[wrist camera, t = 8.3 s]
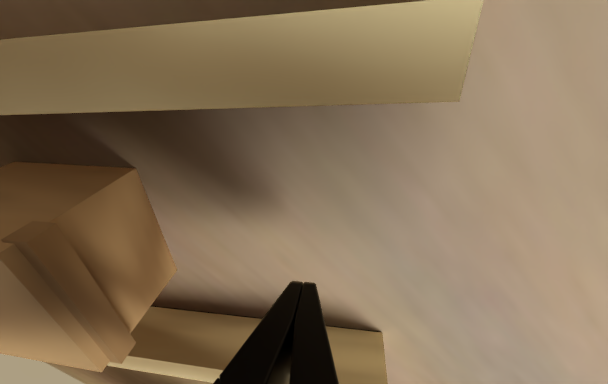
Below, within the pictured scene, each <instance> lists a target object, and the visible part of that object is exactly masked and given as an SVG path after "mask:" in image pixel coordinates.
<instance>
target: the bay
mask: <svg viewBox="0 0 608 384" xmlns="http://www.w3.org/2000/svg"><path fill="white" fill-rule="evenodd" d="M482 4H483V0H427V1H416V2H405V3H394V4H383V5H372V6H361V7H350V8H339V9H329V10H318V11H307V12H296V13H285V14H274V15H263V16H252V17H241V18H230V19H219V20H209V21H198V22H187V23H176V24H165V25H154V26H143V27H132V28H121V29H110V30H99V31H88V32H78V33H67V34H56V35H45V36H34V37H23V38H12V39H1V40H0V115H23V114H57V113H90V112H124V111H158V110H192V109H225V108H259V107H293V106H327V105H360V104H394V103H428V102H459V100H460V96H461V92H462V88H463V84H464V79H465V75H466V71H467V67H468V63H469V59H470V54H471V50H472V46H473V42H474V38H475V34H476V29H477V25H478V21H479V17H480V13H481V8H482ZM261 320H262V319H257V318H248V317H239V316H231V315H222V314H213V313H204V312H195V311H186V310H178V309H169V308H160V307H151V306H150V308H149V309H148V310H147V312H146V313H145V314H144V316H143V317H142V318H141V320H140V321H139V322H138V324H137V325H136V327H135V328H134V329H133V331H132V332H131V333H130V334H131V336H132V337H133V339H134V340H135V342H136V344H135V345H134V347H133V348H132V350H131V351H130V353H129V354H128V356H127V357H126V358H125V360H124V361H123V363H122V364H119V363H113V362H109V363H108V364H107V366H112V367H118V368H125V369H131V370H137V371H143V372H149V373H156V374H162V375H168V376H174V377H180V378H186V379H193V380H199V381H205V382H211V383H214V382H215V380H216V379H217V378H219V376H220V374H221V373H222V371H223V370H224V369H225V367H226V366H227V365H228V364H229V362H230V361H231V360H232V358H233V357H234V356H235V354H236V353H237V352H238V350H239V349H240V348H241V346H242V345H243V344H244V343H245V341H246V340H247V339H248V337H249V336H250V335H251V333H252V332H253V331H254V329H255V328H256V327H257V325H258V324H259V323H260V321H261ZM326 330H327V334H328V338H329V343H330V347H331V351H332V356H333V360H334V364H335V369H336V373H337V377H338V381H339V384H388V383H387V373H386V364H385V354H384V345H383V335H382V333H381V332H372V331H363V330H354V329H345V328H337V327H328V326H326ZM219 379H220V378H219Z"/></svg>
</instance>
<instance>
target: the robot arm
mask: <svg viewBox="0 0 608 384" xmlns="http://www.w3.org/2000/svg"><path fill="white" fill-rule="evenodd" d="M219 378H220V379H219ZM219 378H217V379H216V380H215V382H214V383H213V384H339V381H338V377H337V373H336V369H335V364H334V360H333V356H332V351H331V347H330V343H329V338H328V334H327V330H326V325H325V321H324V317H323V313H322V308H321V304H320V300H319V295H318V291H317V287H316V284H315V283H311V282H304V284H303V282H299V281H292V282H290V283H289V285H288V286H287V287H286V289H285V290H284V291H283V293H282V294H281V295H280V297H279V298H278V299H277V300H276V302H275V303H274V304H273V306H272V307H271V308H270V310H269V311H268V312H267V314H266V315H265V316H264V318H263V319H262V320H261V321H260V323H259V324H258V325H257V327H256V328H255V329H254V331H253V332H252V333H251V335H250V336H249V337H248V339H247V340H246V341H245V343H244V344H243V345H242V346H241V348H240V349H239V350H238V352H237V353H236V354H235V356H234V357H233V358H232V360H231V361H230V362H229V364H228V365H227V366H226V367H225V369H224V370H223V371H222V373H221V374H220V376H219Z"/></svg>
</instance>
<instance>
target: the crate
mask: <svg viewBox="0 0 608 384" xmlns="http://www.w3.org/2000/svg"><path fill="white" fill-rule="evenodd" d="M176 271H177V268H176V266H175V263H174V261H173V259H172V256H171V254H170V251H169V249H168V246H167V244H166V241H165V239H164V236H163V234H162V231H161V229H160V227H159V224H158V222H157V219H156V217H155V214H154V212H153V209H152V207H151V204H150V202H149V199H148V197H147V194H146V192H145V190H144V187H143V185H142V182H141V180H140V177H139V175H138V172H137V170H136V168H123V167H104V166H85V165H67V164H48V163H29V162H13V163H10V164H7V165H5V166H2V167H0V354H6V355H11V356H17V357H22V358H28V359H33V360H38V361H43V362H48V363H54V364H59V365H64V366H70V367H75V368H80V369H86V370H91V371H96V372H102V371H103V370H104V368H105V367H106V366H107V364H108V363H109V362H113V363H119V364H122V363H123V361H124V360H125V358H126V357H127V356H128V354H129V353H130V351H131V350H132V348H133V347H134V345H135V344H136V342H135V340H134V339H133V337H132V336H131V334H130V333H131V332H132V331H133V329H134V328H135V327H136V325H137V324H138V322H139V321H140V320H141V318H142V317H143V316H144V314H145V313H146V312H147V310H148V309H149V308H150V306H151V305H152V304H153V302H154V301H155V299H156V298H157V297H158V295H159V294H160V293H161V291H162V290H163V289H164V287H165V286H166V285H167V283H168V282H169V281H170V279H171V278H172V276H173V275H174V274H175V272H176Z"/></svg>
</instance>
